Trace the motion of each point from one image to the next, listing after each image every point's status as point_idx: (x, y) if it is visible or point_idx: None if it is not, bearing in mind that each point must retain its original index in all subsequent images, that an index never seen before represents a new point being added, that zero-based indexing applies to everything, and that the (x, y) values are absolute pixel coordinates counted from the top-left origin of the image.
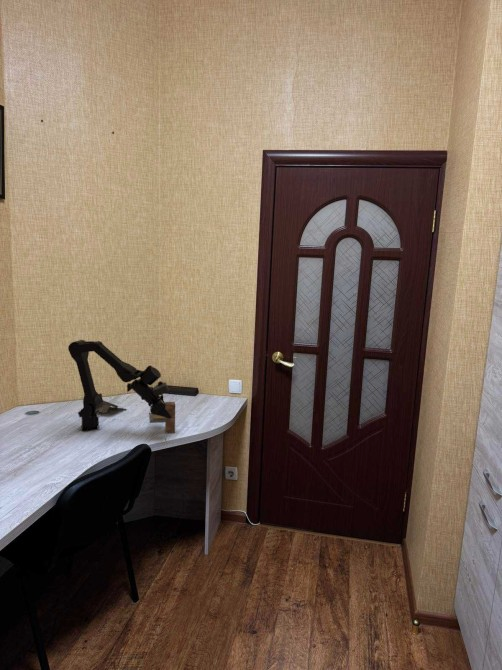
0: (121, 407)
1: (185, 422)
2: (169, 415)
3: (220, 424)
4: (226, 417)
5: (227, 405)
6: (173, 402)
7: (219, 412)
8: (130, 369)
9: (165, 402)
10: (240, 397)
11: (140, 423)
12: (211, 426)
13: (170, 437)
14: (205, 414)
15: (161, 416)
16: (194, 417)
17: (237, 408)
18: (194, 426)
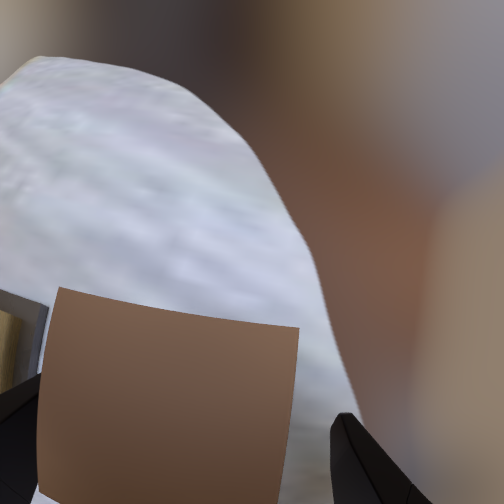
0: None
1: (87, 244)
2: (370, 442)
3: (198, 103)
4: (132, 80)
5: (41, 80)
6: (105, 335)
7: (71, 96)
8: None
9: (54, 497)
10: (26, 63)
11: (38, 495)
12: (208, 135)
13: (329, 404)
14: (53, 138)
15: (1, 374)
16: (52, 184)
17: (81, 60)
18: (171, 209)
